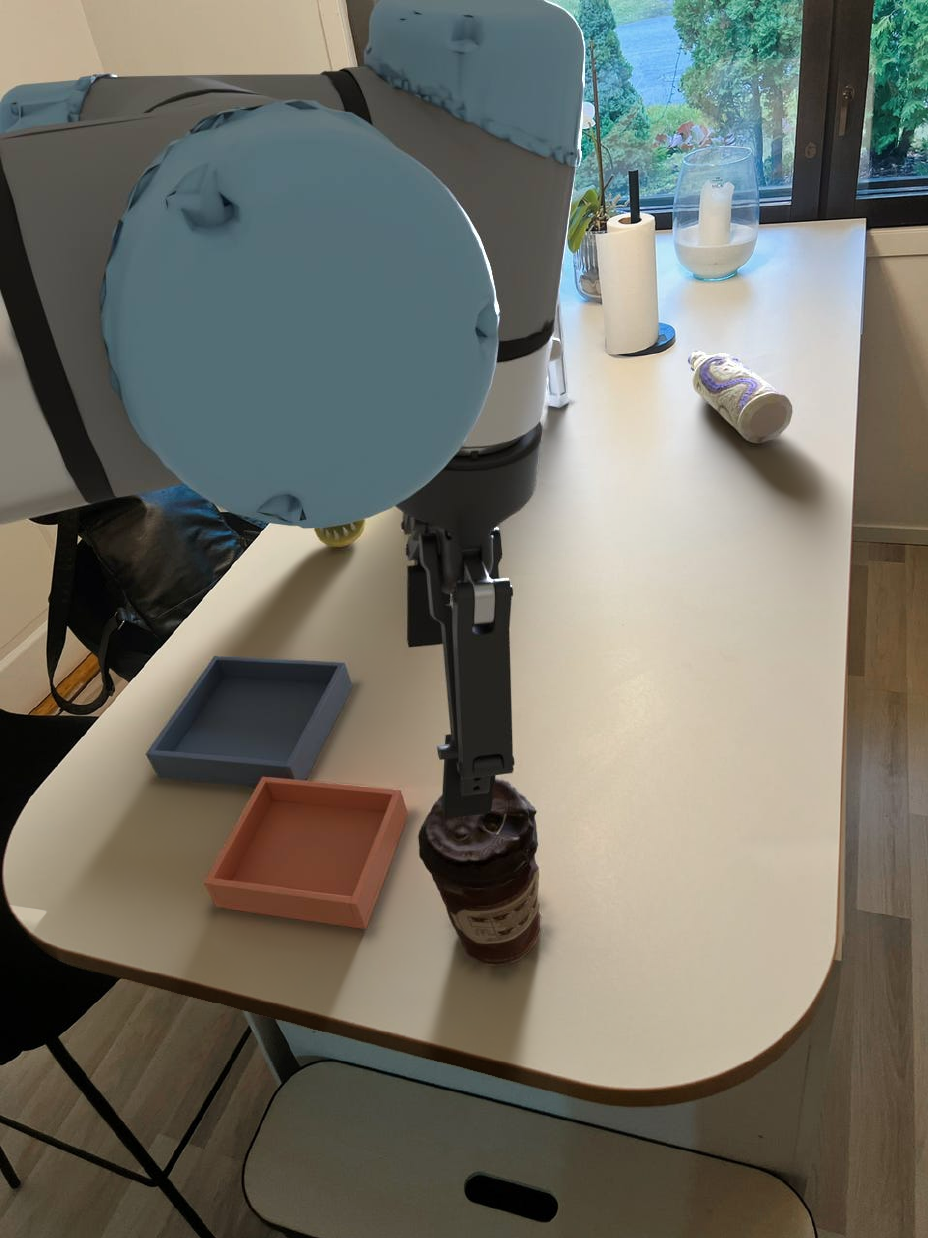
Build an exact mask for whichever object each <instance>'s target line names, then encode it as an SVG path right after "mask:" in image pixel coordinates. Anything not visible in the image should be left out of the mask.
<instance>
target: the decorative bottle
mask: <svg viewBox="0 0 928 1238" xmlns="http://www.w3.org/2000/svg"><path fill="white" fill-rule="evenodd" d="M687 362H688V364H689V365H690V370H691V371H693V377H692V386H693V389H694V391H695V393H696V394H698V396H700V397H701V398H702V399H703V400H704V401H705V402H707V404H709V405H710V406H711V407H712V408H713V409H714V410H715V411H716V412H717V413H718V414H719V415H720V416H721V417H722V418H723V419H724V420H725V421H726V422H727V423H728V424H730V425H731V426H732V427H733V428H734V429H735V430H736V431H737V433H739V435H740V436H741V437H742V438H743V439H745V440H746V441H748V442H751V443H753V444H763V443H766V442H770V441H772V440H774V439H775V438H777V437H778V436H780V435H781V434H782V433H783V432H785V430H787V428H788V427H789V425H790V423H791V420H792V416H793V405H792V403H791V400H790V399H789V397H788V396H786V395H785V394H783V393H780V392H779V391H778V390H777V389H776V388H774V387H773V386H772V385H770V384H769V383H768V381H767V382H766V380H764V379H763V378H762V377H760V376H759V375H757V373H755V372H754V371H753V370H752V369H751V368H749V367H748V366H746V365H745V364H743V363H742V362H741V361H740V360H739V359H738V358H736V357H735V356H732V355H731V354H728V353H717V354H713V355H707V354H706V353H705V352H702V351H699V350H697V351H694V352H692V353H691V354H690V356H689V357H688V358H687Z"/></svg>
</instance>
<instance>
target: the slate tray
mask: <svg viewBox="0 0 928 1238" xmlns="http://www.w3.org/2000/svg"><path fill="white" fill-rule="evenodd" d="M352 689H353V683H352V680H351V677H350V673H349V670H348V667H347V663H346V662H342V661H325V660H324V661H322V660H306V659H305V660H304V659H286V658H285V659H282V658H265V657H244V656H224V655H214V656H212V658H211V660H210V661H209V662H208V664H207V665H206V667H205V669H203V672H202V673H201V674H200V676H199V677H198V679H196V681H195V683H194V684H193V686H192V687H191V688H190V689H189V691H188V692H187V694H186V696H185V697H184V698H183V699H182V700H181V702H180V704H179V706H177V709H175V711H174V713H173V714H172V715H171V717H170V719H169V720H168V721H167V723H166V724H165V726H163V728H162V730H160V732H159V734H158V736H157V737H156V738H155V740H154V741H153V742H152V744H151V746H150V747H149V748H148V749H147V751H146V752H145V757H146V758H147V760H148V762H149V764H150V765H151V767H152V769H153V771H154V772H155V775H156V777H157V778H159V779H170V780H178V781H179V780H180V781H189V782H200V783H209V784H219V785H231V786H239V787H251V788H256V787H257V785H258V783H259V782H260V780H261V778H262V777H271V778H281V779H291V780H302V781H307V778H308V777H309V774H310V773H311V770H312V768H313V767H314V764H315V763H316V761H317V759H318V756H319V755H320V752H321V750H322V748H323V747H324V744H325V742H326V741H327V738H328V737H329V735H330V733H331V731H332V729H333V727H334V725H335V722H336V721H337V718H338V717H339V714H340V713H341V710H342V708H343V707H344V705H345V703H346V700H347V699H348V697H349V694H350V693H351V691H352Z"/></svg>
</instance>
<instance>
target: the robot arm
mask: <svg viewBox="0 0 928 1238" xmlns="http://www.w3.org/2000/svg"><path fill="white" fill-rule="evenodd" d="M585 46H586V45H585V39H584V34H583V31H582V28H581V27H580V26H579V24H578V22H577V20H576V19H575V18H574V16H573V15H572V14H571V13H569V11H567V10H566V9H565V8H564V7H561V6H559V5H558V4H556V3H553V2H550V1H548V0H378V2H377V3H376V4H375V5H374V7H373V9H372V11H371V13H370V17H369V21H368V42H367V44H366V46H365V48H364V50H363V62H364V65H361V66H350V67H343V68H340V69H339V70H324V71H322V72H320V73H308V74H307V73H299V74H298V73H296V74H295V73H294V74H292V73H291V74H287V73H285V74H283V73H282V74H280V73H279V74H277V73H276V74H275V73H274V74H185V75H183V74H181V75H177V74H175V75H135V76H134V75H131V76H129V75H128V76H126V75H125V76H118V75H116V74H114V73H101V74H100V73H99V72H97V74H96V73H95V74H92V75H85V76H80V78H78V79H71V80H70V79H69V80H59V81H47V82H46V81H45V82H35V83H34V82H33V83H24V84H19V85H16V86H14V87H13V88H11V89H9V90H7V92H6V93H5V94H4V95H3V96H2V97H1V99H0V526H3V525H7V524H11V523H16V522H20V521H25V520H28V519H34V518H38V517H40V516H46V515H51V514H54V513H59V512H63V511H67V510H72V509H76V508H80V507H85V506H89V505H93V504H97V503H101V502H105V501H109V500H115V499H118V498H124V497H129V496H136V495H142V494H143V495H144V494H147V493H152V492H157V491H161V490H165V489H171V488H174V487H178V486H179V487H180V486H183V485H185V486H187V488H189V489H190V490H192V491H193V492H195V493H196V494H197V495H199V496H201V497H202V498H204V499H205V500H207V501H208V502H210V503H211V504H213V505H215V506H216V507H219V508H221V509H223V510H224V511H227V512H228V513H230V514H233V515H238V516H241V517H246V518H250V519H252V520H256V521H260V522H263V523H267V524H275V525H281V526H288V527H299V528H301V529H314V528H327V527H333V526H339V525H346V524H349V523H353V522H356V521H360V520H363V519H365V520H367V519H370V518H372V517H374V516H376V515H378V514H381V513H383V512H386V511H389V510H390V509H392V508H393V507H395V508H396V509H398V510H399V511H401V512H402V521H401V522H400V528H401V530H402V531H403V535H404V536H409V537H408V539H407V542H406V543H405V547H404V548H405V549H404V550H405V556H407V559H408V562H412V561H413V564H412V565H411V564H410V565H406V643H407V647H408V648H419V647H428V646H439V645H442V651H443V652H442V653H443V662H444V663H443V664H444V673H445V684H446V695H447V707H448V709H447V710H448V719H449V731H450V733H449V734H445V735H444V737H445V738H444V744H440V745H439V744H438V745H436V750H437V757H438V759H439V761H442V760H443V770H442V771H443V772H442V793H441V795H442V813H443V818H444V819H450V818H457V817H465V816H472V815H479V814H486V813H491V810H492V801H493V793H494V785H495V778H496V776H501V775H510V774H513V773H514V770H515V769H514V766H515V757H514V749H513V748H514V746H513V745H514V743H513V742H514V741H513V710H512V709H513V708H512V707H513V706H512V705H513V704H512V675H511V671H512V669H511V639H510V638H511V637H510V627H511V626H510V625H511V611H512V597H514V588H513V586H512V585H511V580H510V579H509V578H508V577H506V578H505V577H504V578H500V569H499V564H500V563H501V560H502V559H503V545H502V544H503V543H502V536H501V535H502V534H501V530H500V528H499V527H498V526H499V525H501V524H502V523H503V522H505V521H506V520H507V519H509V518H510V517H512V516H514V515H516V514H517V513H518V512H520V511H521V510H522V509H523V508H525V506H526V505H527V504H528V503H529V502H530V500H531V499H532V497H533V495H534V493H535V490H536V486H537V479H538V472H539V462H540V454H541V447H542V438H543V426H542V422H541V420H542V418H543V415H544V412H545V405H546V398H547V382H548V370H549V362H553V361H556V360H559V359H560V357H561V354H562V350H563V348H562V345H561V343H560V341H559V340H558V339H555V338H553V334H554V327H555V317H556V314H557V306H558V299H559V295H560V289H561V284H562V283H561V282H562V275H563V267H564V260H565V255H566V254H565V253H566V246H567V238H568V231H569V225H570V224H569V223H570V216H571V210H572V208H571V207H572V202H573V201H572V200H573V193H574V186H575V180H576V179H575V178H576V170H577V168H579V167H580V165H581V162H582V151H581V142H582V141H581V140H582V125H583V109H584V108H583V107H584V97H585V85H586V84H585V65H586V64H585V62H586V47H585Z"/></svg>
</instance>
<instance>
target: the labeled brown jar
mask: <svg viewBox="0 0 928 1238" xmlns="http://www.w3.org/2000/svg"><path fill="white" fill-rule="evenodd" d="M537 812H538V810H537V809H536V807H535V806H534V805H532V803H531V802H530V801H529V800H528V799H527V796H525V795H524V794H522V793H520V792H519V791H518V789H517V788H515V787H514V786H512V785H511V783H510V782H509V781H508V780H505V779H500V778H498V777H497V778H496V777H495V785H494V793H493V801H492V810H491V813H486V814H479V815H472V816H465V817H457V818H450V819H444V818H443V813H442V794H441V795H440V796H439V797H438V799H437V800H436V801H435V802H434V803H433V804H432V806H431V809H430V811H429V812H428V814H427V815H426V816H425V818H424V821H423V822H422V824H421V825H420V829H419V832H418V836H417V841H418V848H419V849H418V856H419V858H420V860H421V861H422V863H423V865H424V867H425V868H426V870H427V872H429V874H430V875H431V877H432V881H433V882H434V884H435V886H436V889H437V891H438V893H439V895H440V897H441V900H442V902H443V904H444V906H445V909H446V914H448V918H449V921H450V923H451V925H452V926H453V928H454V931H455V932H456V934H457V936H458V937H459V940H460V942H461V946H462V948H463V950H464V952H465V953H466V955H467V956H468V957H470V958H471V959H473V960H475V961H476V962H479V963H481V964H484V965H486V966H503V965H508V964H510V963H514V962H517V961H519V960H520V959H522V958H523V957H524V956H525V955H527V954H528V953H529V952H530V951H531V950H532V948H533V947H534V946H535V944H536V942H537V940H538V938H539V936H540V934H541V931H542V926H541V925H542V917H543V916H542V913H541V912H540V906H541V905H540V901H539V886H540V883H539V882H540V870H539V869H540V867H539V865H538V864H537V861H536V856H535V855H536V853H537V851H538V846H539V842H538V841H539V839H538V830H537V828H538V827H537V820H536V814H537Z"/></svg>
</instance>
